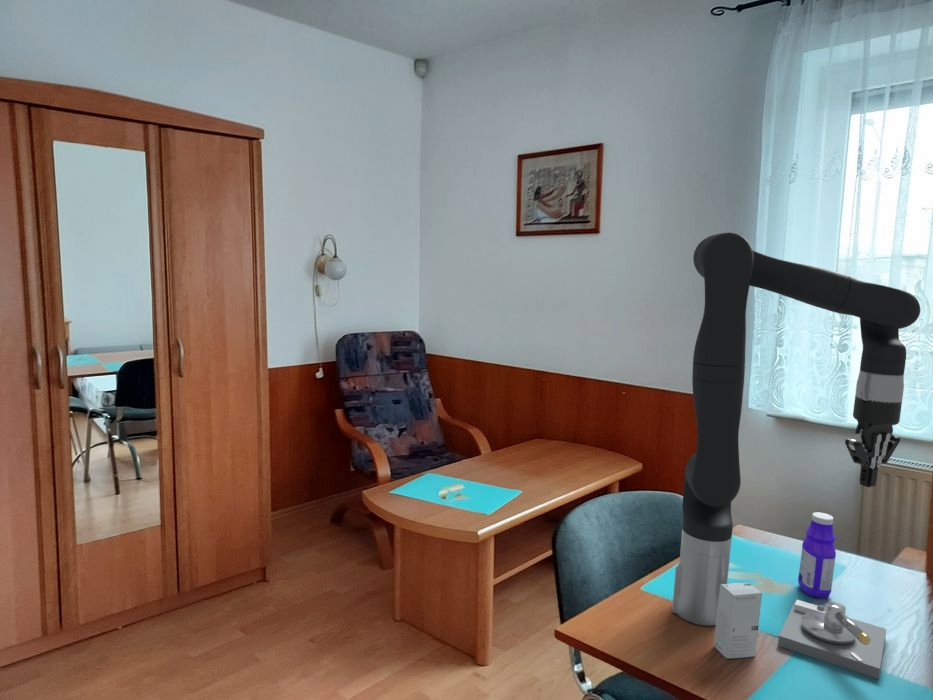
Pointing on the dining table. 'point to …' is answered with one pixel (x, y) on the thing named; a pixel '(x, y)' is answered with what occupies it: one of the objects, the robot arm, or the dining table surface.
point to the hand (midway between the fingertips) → (867, 485)
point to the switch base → (845, 656)
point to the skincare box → (737, 620)
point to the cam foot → (833, 626)
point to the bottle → (818, 557)
